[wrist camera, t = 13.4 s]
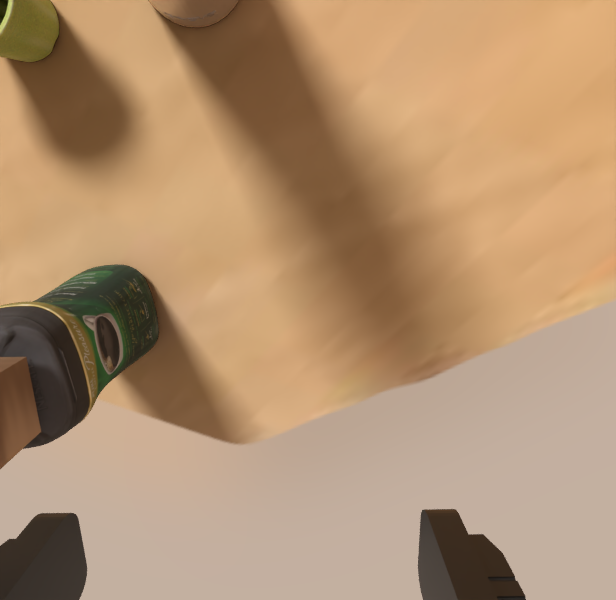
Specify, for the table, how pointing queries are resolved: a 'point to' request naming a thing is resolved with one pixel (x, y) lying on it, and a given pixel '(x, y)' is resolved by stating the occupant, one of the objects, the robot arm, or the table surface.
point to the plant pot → (27, 29)
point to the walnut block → (16, 408)
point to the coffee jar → (79, 341)
